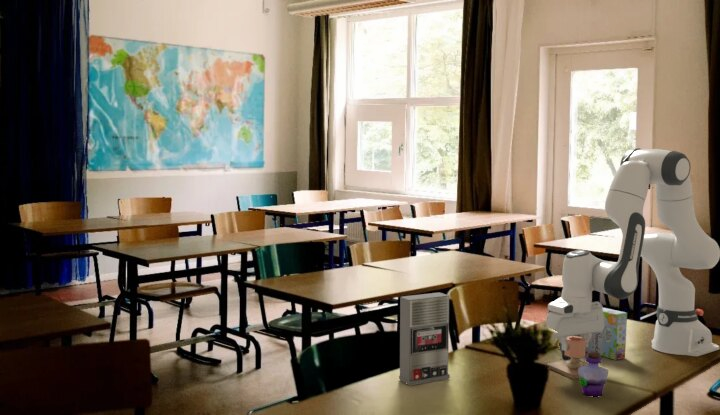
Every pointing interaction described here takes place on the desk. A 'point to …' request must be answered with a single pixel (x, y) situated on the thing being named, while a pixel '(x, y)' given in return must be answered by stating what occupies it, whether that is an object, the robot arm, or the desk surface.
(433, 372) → the cassette tape recorder
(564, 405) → the desk surface
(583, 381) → the potion bottle
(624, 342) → the snack box
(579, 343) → the pink cylinder
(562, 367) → the stand
